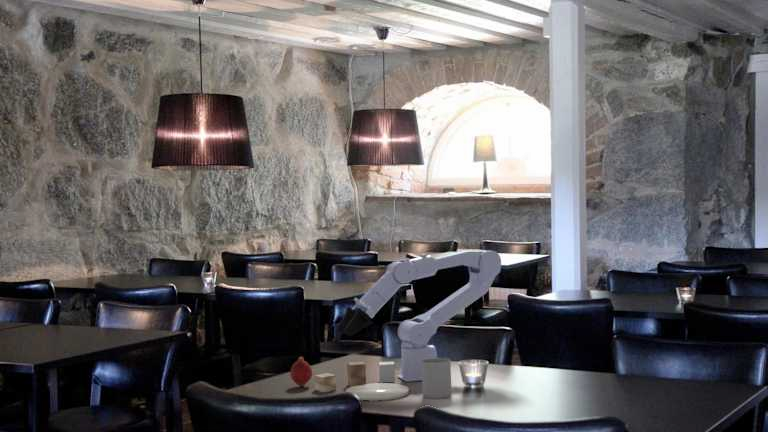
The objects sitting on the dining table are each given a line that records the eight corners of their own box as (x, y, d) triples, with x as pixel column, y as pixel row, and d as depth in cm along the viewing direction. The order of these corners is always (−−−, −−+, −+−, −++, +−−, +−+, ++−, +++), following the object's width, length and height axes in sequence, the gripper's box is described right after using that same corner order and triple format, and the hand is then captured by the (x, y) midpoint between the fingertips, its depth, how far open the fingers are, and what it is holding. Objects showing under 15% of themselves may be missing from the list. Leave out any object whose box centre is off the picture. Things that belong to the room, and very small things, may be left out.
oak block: (328, 388, 261) (327, 373, 261) (336, 390, 258) (335, 375, 258) (315, 390, 259) (314, 375, 259) (323, 392, 255) (322, 377, 255)
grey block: (394, 379, 269) (393, 361, 269) (394, 382, 265) (394, 364, 265) (379, 380, 269) (379, 362, 269) (380, 383, 265) (379, 364, 265)
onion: (309, 389, 260) (308, 358, 260) (288, 388, 261) (287, 358, 261) (315, 384, 266) (313, 355, 266) (294, 384, 267) (293, 355, 267)
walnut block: (362, 383, 265) (361, 361, 265) (366, 386, 261) (365, 363, 261) (347, 385, 264) (347, 362, 264) (351, 387, 260) (350, 365, 260)
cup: (417, 398, 244) (416, 362, 244) (436, 390, 253) (435, 355, 253) (443, 400, 241) (441, 363, 240) (461, 392, 249) (460, 357, 249)
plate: (398, 385, 260) (398, 381, 260) (416, 397, 245) (416, 392, 245) (339, 391, 256) (339, 386, 256) (354, 403, 241) (354, 398, 241)
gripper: (360, 284, 271) (325, 320, 268) (374, 287, 258) (339, 324, 254) (377, 302, 273) (343, 338, 270) (393, 305, 259) (357, 343, 256)
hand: (342, 333), depth 262 cm, fingers open, 7 cm apart
